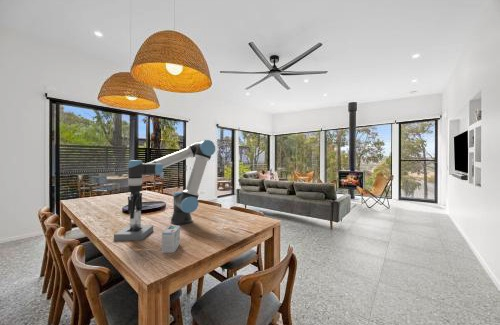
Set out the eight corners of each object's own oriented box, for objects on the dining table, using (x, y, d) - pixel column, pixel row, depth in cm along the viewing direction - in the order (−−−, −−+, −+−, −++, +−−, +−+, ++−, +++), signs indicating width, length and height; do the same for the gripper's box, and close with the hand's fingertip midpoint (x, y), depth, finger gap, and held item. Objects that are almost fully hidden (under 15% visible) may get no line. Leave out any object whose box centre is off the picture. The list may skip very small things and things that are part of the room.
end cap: (142, 228, 132) (142, 209, 132) (138, 231, 126) (138, 212, 126) (132, 228, 132) (132, 209, 131) (127, 232, 126) (127, 212, 125)
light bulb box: (167, 244, 116) (168, 225, 116) (180, 244, 117) (180, 225, 117) (161, 253, 106) (161, 232, 106) (174, 252, 106) (175, 231, 106)
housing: (153, 231, 137) (153, 225, 137) (142, 240, 121) (142, 234, 121) (128, 231, 136) (128, 225, 136) (113, 241, 120) (113, 234, 120)
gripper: (136, 183, 138) (136, 217, 138) (120, 186, 119) (120, 226, 119) (148, 183, 138) (148, 217, 138) (134, 186, 119) (134, 226, 120)
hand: (135, 221), depth 129 cm, fingers closed on end cap, 6 cm apart
